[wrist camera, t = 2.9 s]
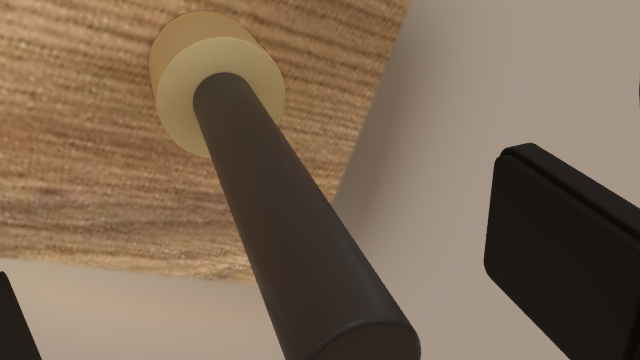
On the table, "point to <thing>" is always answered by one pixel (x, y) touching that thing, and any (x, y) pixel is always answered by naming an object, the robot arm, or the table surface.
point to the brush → (273, 194)
